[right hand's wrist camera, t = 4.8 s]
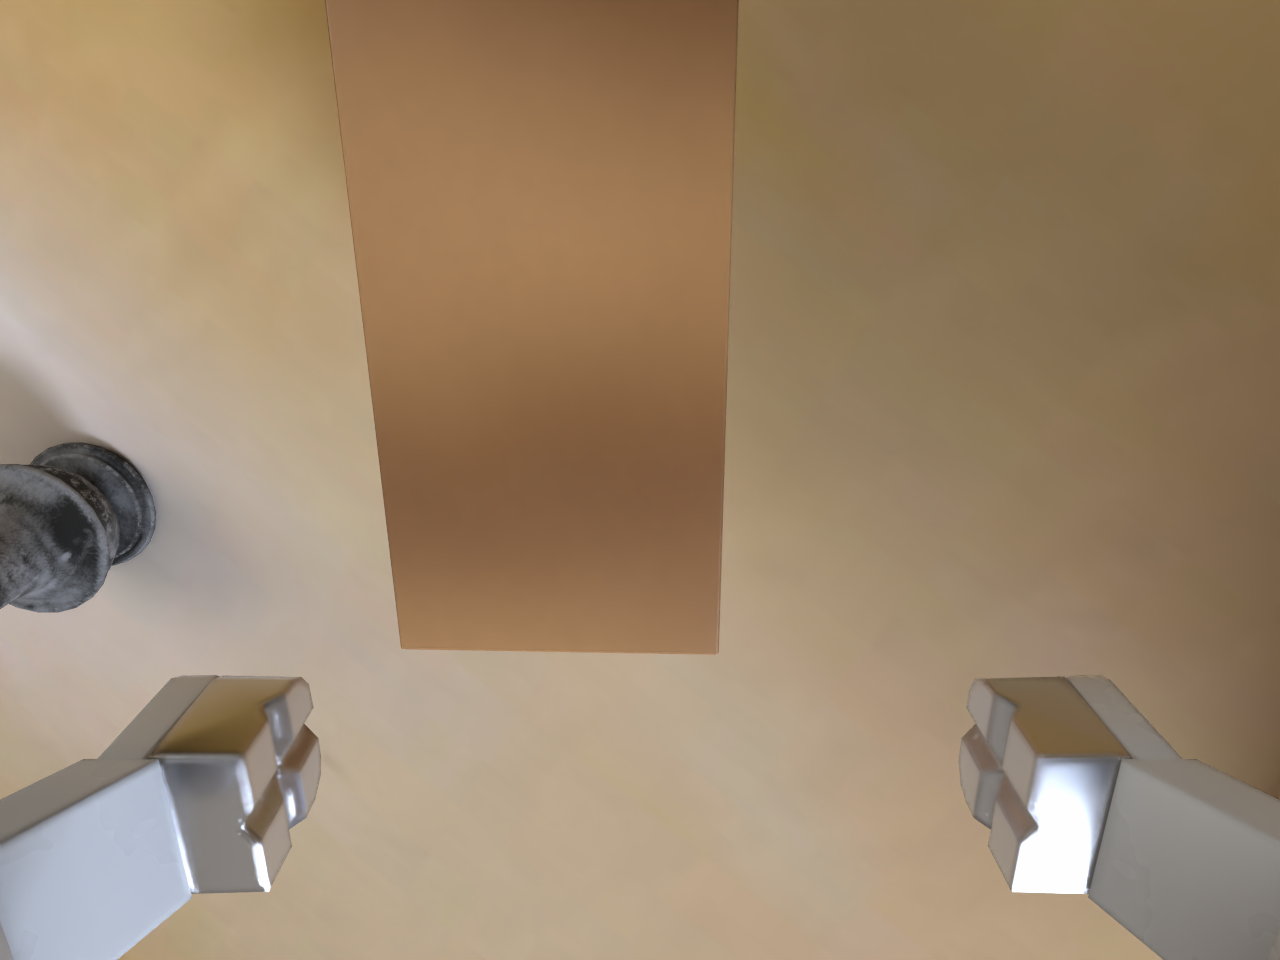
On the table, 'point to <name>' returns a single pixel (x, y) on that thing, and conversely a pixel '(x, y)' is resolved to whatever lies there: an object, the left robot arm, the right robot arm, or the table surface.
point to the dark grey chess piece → (68, 525)
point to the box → (545, 311)
